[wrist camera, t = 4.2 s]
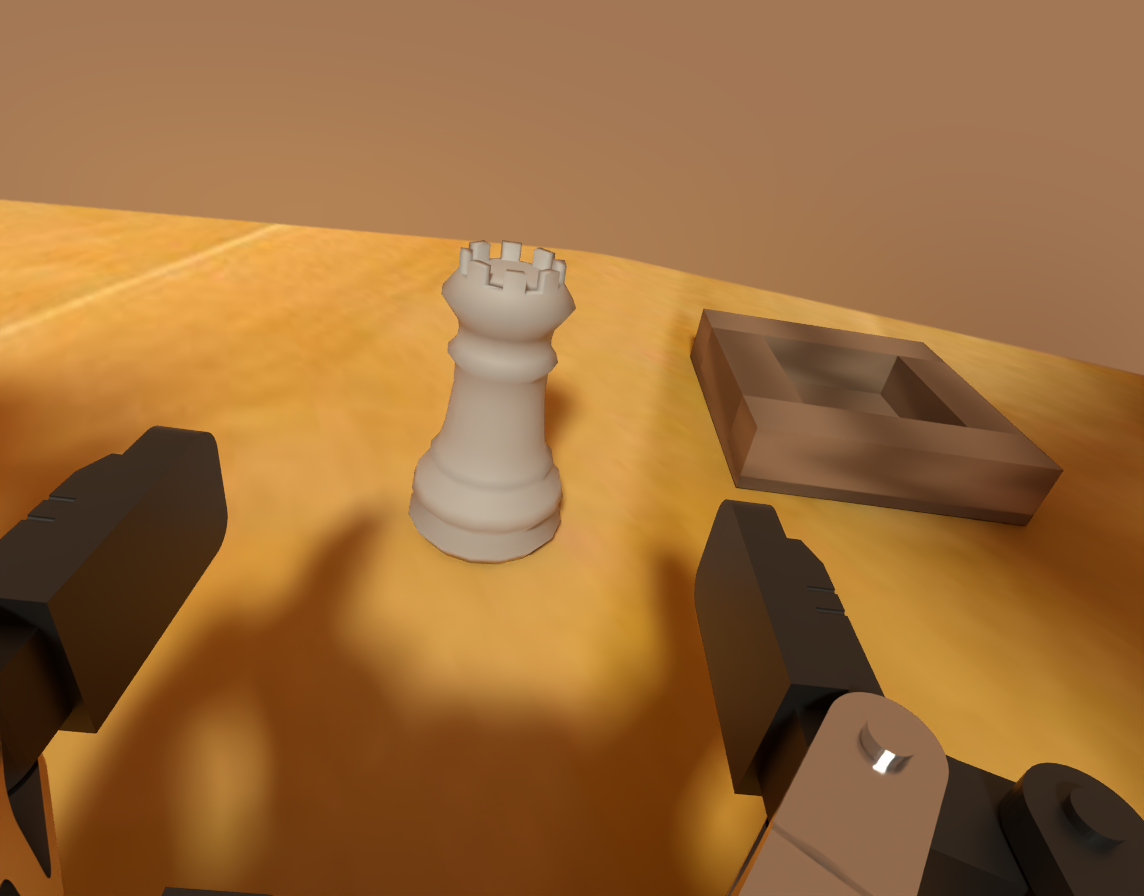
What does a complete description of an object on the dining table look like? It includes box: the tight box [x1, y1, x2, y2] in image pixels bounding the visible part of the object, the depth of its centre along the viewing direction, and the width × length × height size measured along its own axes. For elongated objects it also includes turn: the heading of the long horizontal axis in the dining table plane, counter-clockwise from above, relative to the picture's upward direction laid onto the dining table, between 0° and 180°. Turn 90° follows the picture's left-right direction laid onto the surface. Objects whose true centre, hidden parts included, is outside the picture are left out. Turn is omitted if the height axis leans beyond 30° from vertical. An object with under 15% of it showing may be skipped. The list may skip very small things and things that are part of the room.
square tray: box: [690, 309, 1063, 526], centre depth 28 cm, size 11×11×2 cm
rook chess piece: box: [409, 240, 576, 564], centre depth 18 cm, size 4×4×8 cm
